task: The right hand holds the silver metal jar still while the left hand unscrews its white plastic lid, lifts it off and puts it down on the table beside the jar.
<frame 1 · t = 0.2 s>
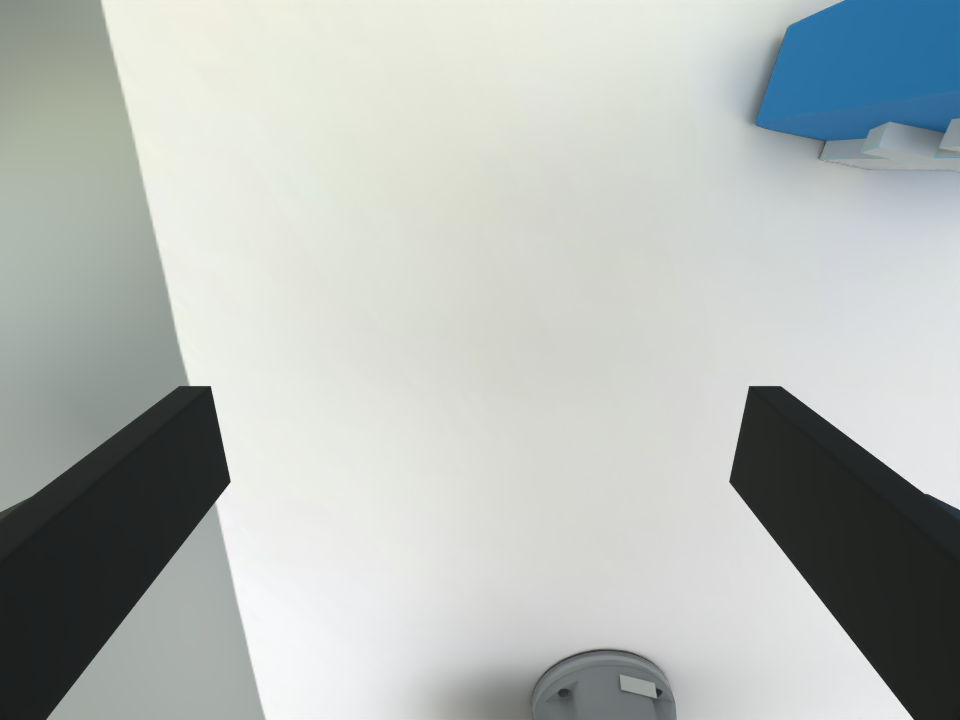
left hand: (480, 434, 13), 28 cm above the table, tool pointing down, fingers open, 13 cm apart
logo: (890, 107, 35), on the table
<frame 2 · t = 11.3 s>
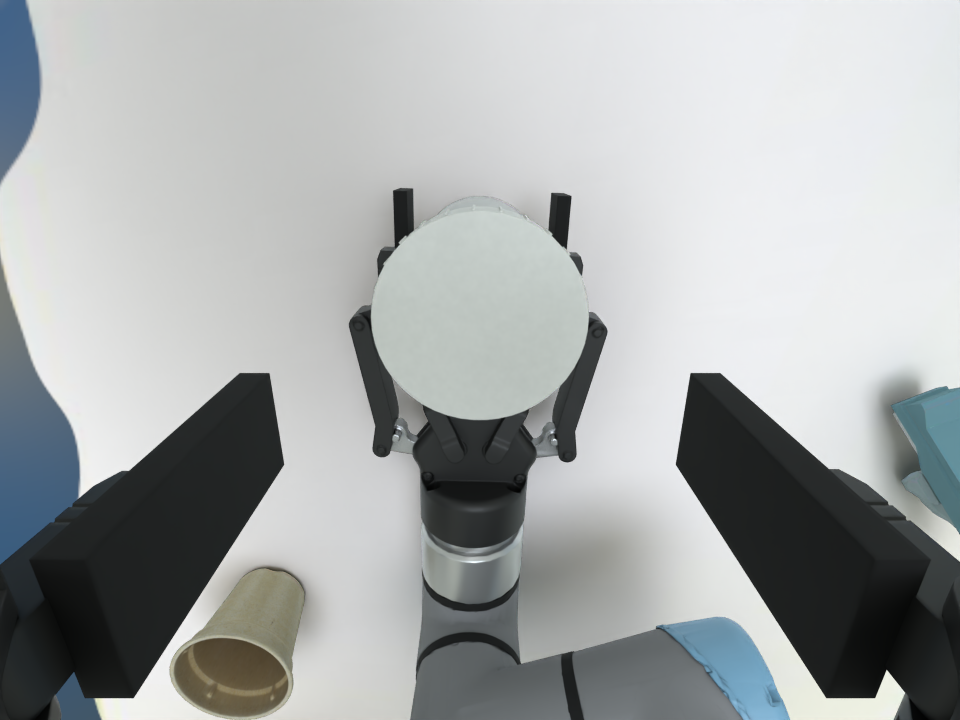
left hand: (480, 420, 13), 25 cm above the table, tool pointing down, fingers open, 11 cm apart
right hand: (482, 192, 29), fingers closed on jar, 8 cm apart
flower pot: (273, 591, 48), on the table
lid: (479, 321, 22), point 16 cm above the table, screwed on, not yet turned
toy gun: (914, 458, 43), on the table
jar: (479, 256, 37), on the table, touching right hand
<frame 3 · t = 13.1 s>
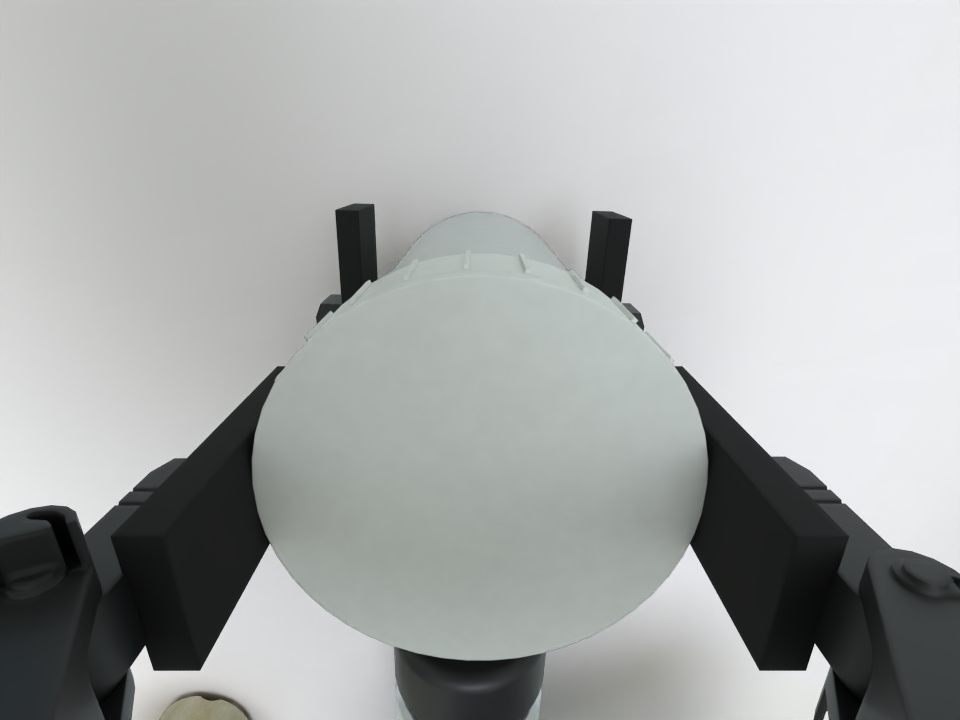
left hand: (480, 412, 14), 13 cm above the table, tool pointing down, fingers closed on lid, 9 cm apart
lid: (480, 488, 11), point 16 cm above the table, screwed on, not yet turned, touching left hand
jar: (479, 297, 26), on the table, touching right hand
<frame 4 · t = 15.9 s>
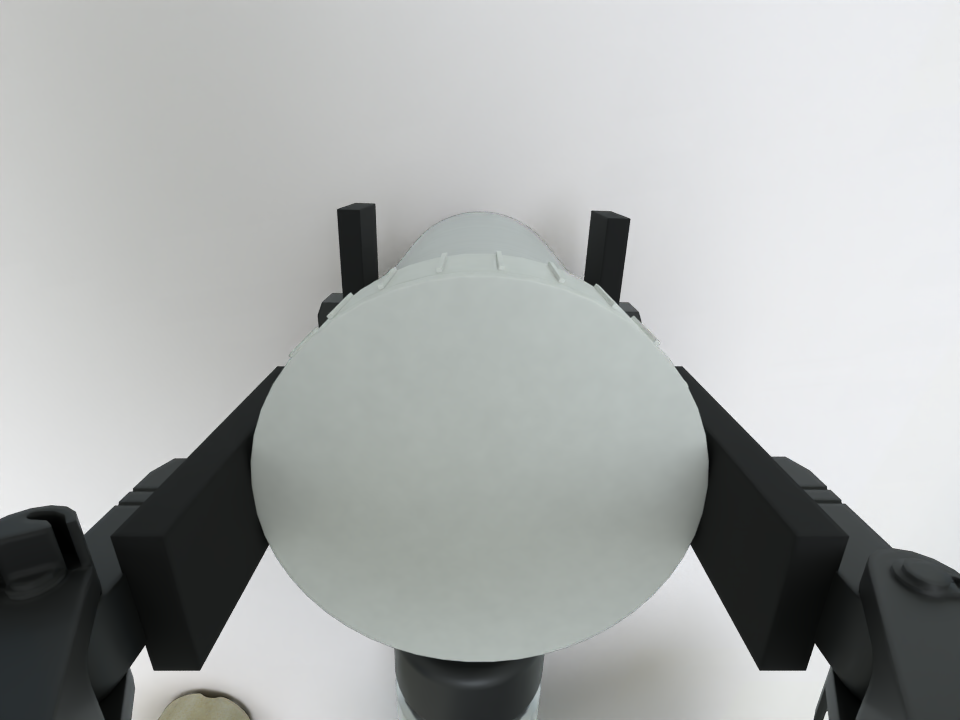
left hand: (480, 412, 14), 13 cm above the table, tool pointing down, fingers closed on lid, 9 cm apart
flower pot: (212, 718, 37), on the table
lid: (479, 489, 11), point 16 cm above the table, turned 75° so far, risen 0.2 cm, still on its thread, touching left hand
jar: (479, 296, 26), on the table, touching right hand
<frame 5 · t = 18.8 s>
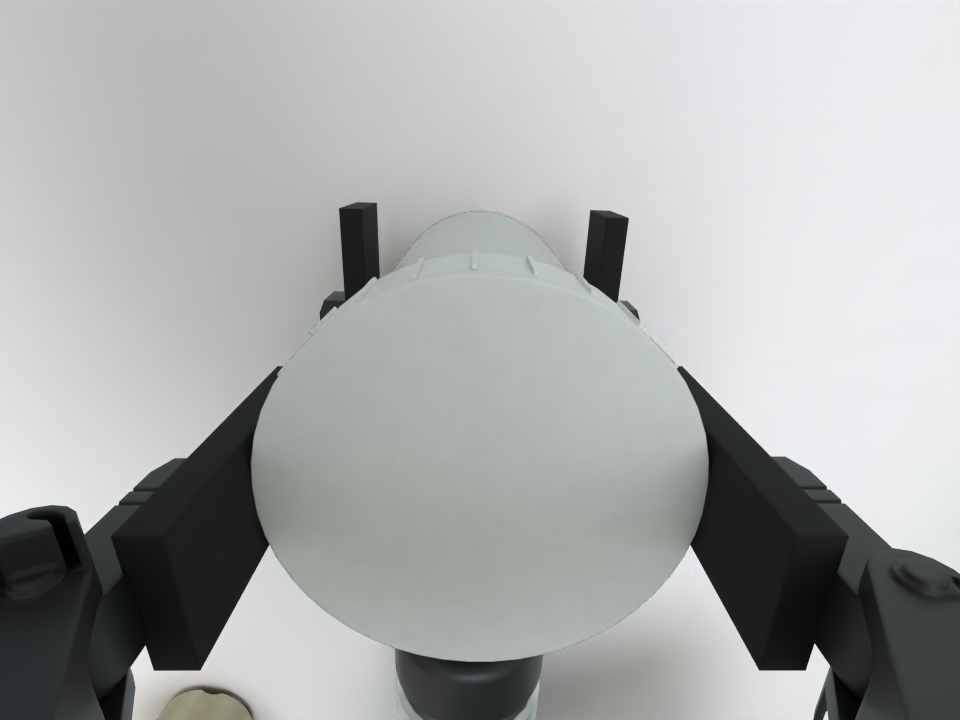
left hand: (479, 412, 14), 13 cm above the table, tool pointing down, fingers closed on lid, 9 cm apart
flower pot: (213, 714, 37), on the table
lid: (479, 489, 11), point 16 cm above the table, turned 151° so far, risen 0.5 cm, still on its thread, touching left hand
jar: (479, 295, 26), on the table, touching right hand
when the left hand's fingers open (0 cm above the table, at t = 25.7 s): lid drops 2 cm, point 2 cm above the table.
when the right hand's fingers open (6 cm above the table, at t = 26.8 s): jar stays where it is, on the table.
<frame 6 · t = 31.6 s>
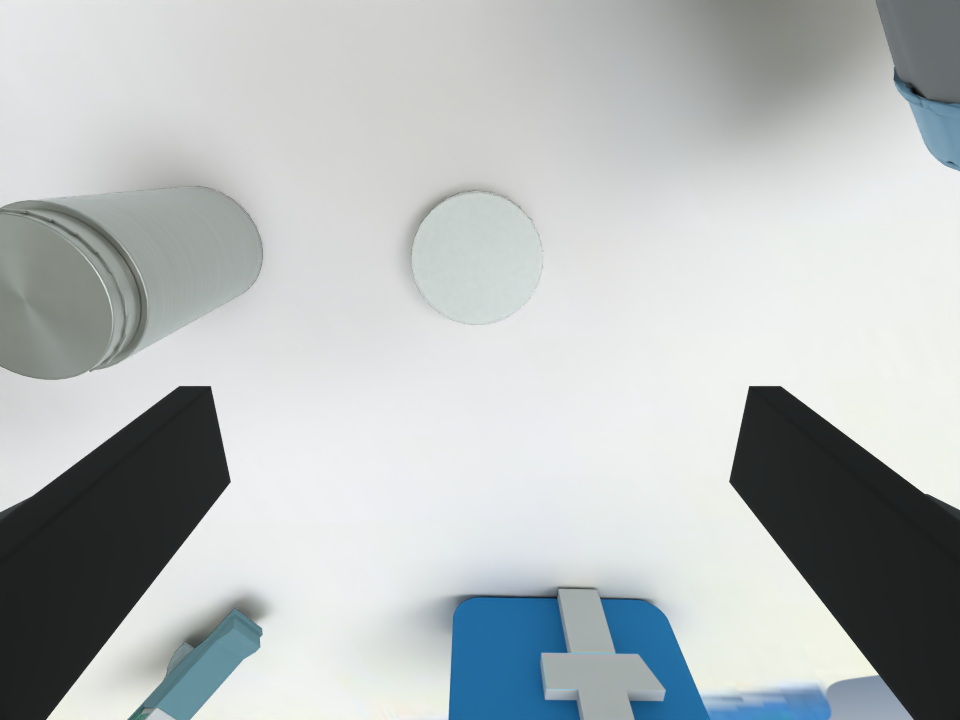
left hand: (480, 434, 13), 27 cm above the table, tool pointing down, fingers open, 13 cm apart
logo: (555, 618, 50), on the table
lid: (477, 261, 36), point 2 cm above the table, off its thread
toy gun: (207, 641, 52), on the table
jar: (205, 245, 37), on the table
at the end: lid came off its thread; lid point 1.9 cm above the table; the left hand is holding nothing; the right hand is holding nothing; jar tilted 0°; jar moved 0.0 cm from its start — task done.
